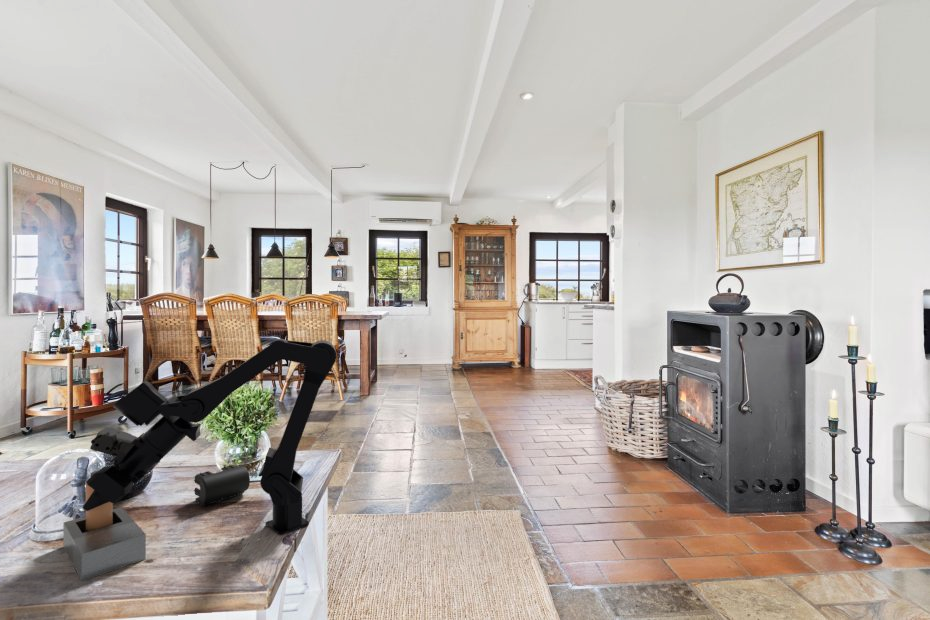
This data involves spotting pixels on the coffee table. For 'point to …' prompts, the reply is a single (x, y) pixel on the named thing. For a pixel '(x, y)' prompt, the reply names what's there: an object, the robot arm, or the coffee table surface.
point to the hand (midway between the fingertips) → (90, 504)
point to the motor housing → (104, 545)
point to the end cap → (221, 484)
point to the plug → (98, 512)
